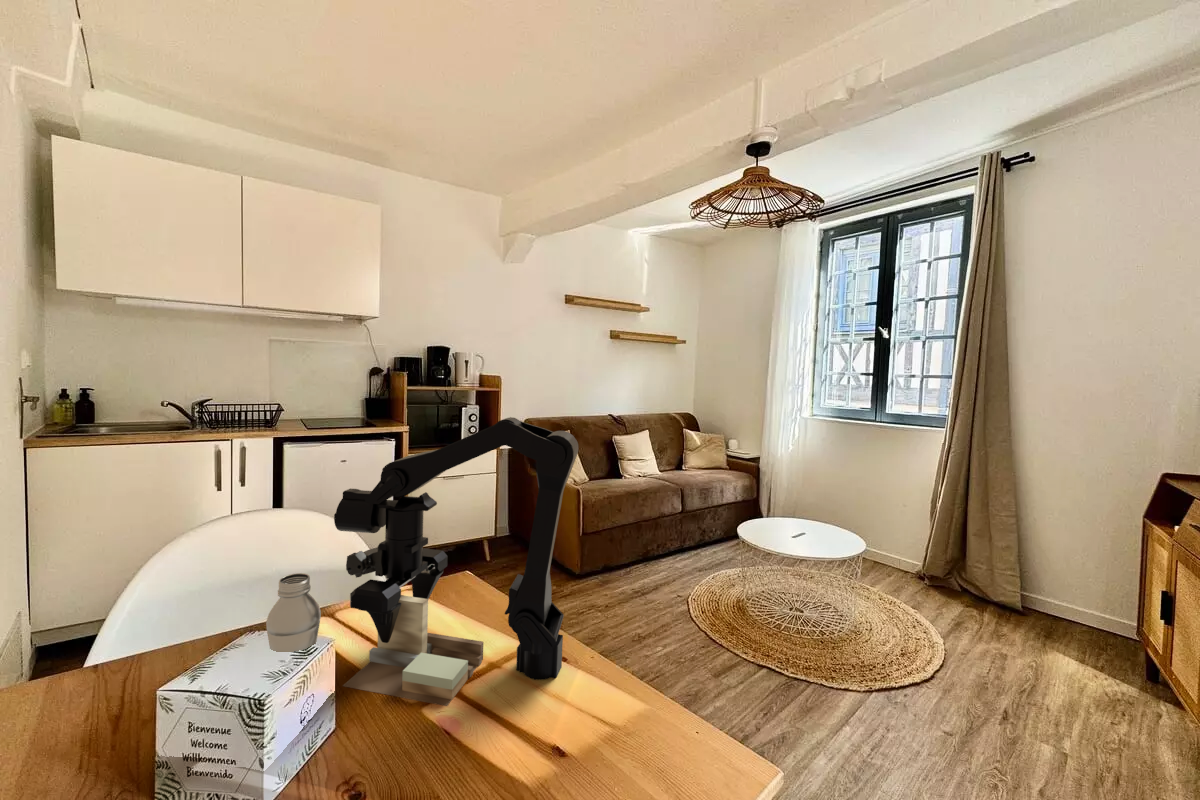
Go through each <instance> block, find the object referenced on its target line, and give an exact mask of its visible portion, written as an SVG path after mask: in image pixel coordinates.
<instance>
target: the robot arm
mask: <svg viewBox="0 0 1200 800" xmlns="http://www.w3.org/2000/svg"><path fill="white" fill-rule="evenodd" d="M578 442H579V441H577V439H576V438H575V436H574V435H573V434H571V433H570V432H568V431H566V430H556V431H552V430H550V429H547V428H544V427H541V426H536V425H534V424H530V423H527V422H524V421H522V420H520V419H518V418H516V417H511V416H509V417H506V418H503V419H501V420H498V421H496V423H495V424H493V425H490V426H488V427H486V428H483V429H482V430H479V431H477V432H475V433H473V434H470V435H468V436H465V437H463V438H462V439H459V440H456V441H454V442H452V443H450V444H448V445H445V446H443V447H440V448H438V449H433V450H428V451H422V452H420V453H419V452H418V453H414V454H410V455H407V456H405V457H404V456H403V457H402V458H399V459H396V460H394V461H391V462H389V463H387V464H385V465H384V466H383V468H382V470H381V472H380V473H381V474H380V480H379V482H378V483H377V484H376V485H375V487H373V489H372V490H361V489H359V488H348V489H346V490H344V491H342V498H341V500H339V503H338V505H337V507H336V511H335V513H334V516H333V519H334V520H333V521H334V526H335V528H336V529H337V530H338V531H339V532H349V533H365V534H376V533H377V532H379V531H380V530H381V528H384V527H385V529H384V531H385V533H384V534H385V535H384V536H385V537H384V539H385V540H383V541H381V542H380V543H379V544H378V545H377V547H373V548H370V549H367V550H365V551H363V550H359V551H358V552H353V553H350V554H349V555H347V556H346V563H345V564H346V565H345V567H346V568H345V569H346V572H347V574H348V575H350V576H355V578H360V577H362V576H363V575H367V574H371V573H375V574H374V575H375V577H383V576H384V577H386V580H378V579H377V580H376V579H369V580H367V581H365V582H364V583H362V584H361V585H358V586H357V587H355V589H353V591H352V592H350V593H349V594H350V595H349V606H350V609H354V610H355V609H356V610H358V611H364V612H367V613H368V614H369V616H370V617H371V619H372V622H373V624H374V626H375V629H376V631H377V635H378V634H379V637H380V639H381V641H382V642H384V643H388V642H389V640H390V638H391V635H392V632H393V629H394V626H395V622H396V619H397V616H398V613H399V610H400V607H401V603H399V600H400V597H401V595H402V587H403V586H405V585H406V584H408V583H409V582H411V587H412V597H417V598H424V599H428V600H429V599H430V596H431V595H432V593H433V591H434V589H435V587H436V586H437V583H438V581H439V580H440V578H441V576H442V574H443V573H444V569H446V568H447V567H448V560H449V559H448V555H447V553H446V552H445V551H444V550H440V549H432V548H425V546H426V545H429V537H426V536H424V511H425V512H428V511H429V510H431V509H433V508H434V507H435V506H437V504H438V503H437V501H436V500H435V499H434V498H432V497H431V496H430V495H429V493H428V492H424V493H422V494H420V495H419V496H410V495H409V494H411V493H413V492H415V491H417V490H419V489H421V488H422V487H424V486H426V485H427V484H428V483H430V482H432V481H433V480H434V479H436V478H438V477H439V476H440V475H442V474H444V473H445V472H446V471H448V470H450V469H453V468H454V467H457V466H459V465H462V464H465V463H467V462H469V461H471V460H474V459H476V458H477V457H480V456H482V455H484V454H488V453H490V452H491V451H494V450H497V449H499V448H501V447H504V446H507V447H509V448H511V449H512V450H514V451H517V452H518V453H520V454H522V455H523V456H524V457H527V458H528V459H529V458H530V459H531V460H533V461H536V463H535V464H536V466H535V468H536V469H535V471H536V480H537V486H538V487H537V488H538V491H537V497H536V498H537V499H536V504H535V508H534V515H533V520H532V521H533V522H532V527H531V533H530V539H529V544H528V549H527V551H528V552H527V556H526V563H525V568H524V572H523V573H524V574H523V575H522V574H520V573H517V575H516V576H515V579H514V580H513V582H512V583H511V585H510V587H509V591H508V605H507V607H506V610H505V612H504V615H508V616H507V617H508V618H507V619H508V620H507V622H508V626H509V628H511V630H512V631H513V632H514V633H515V634H516V636H517V640H518V641H519V644H518V646H517V647H516V660H515V661H516V664H515V666H516V667H515V670H516V671H517V672H519V673H522V674H524V675H525V677H527V678H528V679H531V680H537V681H544V680H548V679H551V678H552V679H557V677H558V676H559V674H560V672H561V669H562V663H563V645H564V644H563V641H564V635H563V634H560V631H561V627H562V623H563V619H564V615H565V614H564V613H563V612H562V611H561V610H560V609H559V608H558V606H557V605H555V603H554V602H553V601H552V579H551V564H552V559H553V553H554V548H555V542H556V538H557V530H558V525H559V521H560V520H559V519H560V513H561V508H562V502H563V498H564V497H563V496H564V490H565V487H566V485H567V482H568V480H569V479H570V475H571V473H572V471H573V467H574V464H575V462H576V459H577V457H578V453H579V443H578ZM408 495H409V496H408ZM393 497H394V498H397V499H398V498H399V499H398V500H396V499H391V498H393ZM423 547H424V548H423Z"/></svg>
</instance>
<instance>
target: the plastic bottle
mask: <svg viewBox="0 0 1200 800" xmlns="http://www.w3.org/2000/svg"><path fill="white" fill-rule="evenodd" d="M310 582H311V577H310V575H309V574H308V573H302V572H301V573H296V572H295V573H292V574H287V575H284V576H282V577H281V578H280V579H279V580H278V590H277V597H279V598H278V600H277V601H276V602H275V604H274V605H273V606H272V608H271V609H270V610H269V613H268V616H267V619H266V621H265V623H266V626H265V627H266V632H267V640H268V645H269V650H270V649H271V650H273V651H276V652H294V651H299V650H303V649H306V648H308V647H310V646H312V645H314V644H316V642H317V643H318V634H319V631H320V630H319V629H320V624H321V617H322V616H321V615H322V614H321V613H322V611H321V607H320V605H319V603H318V602H317V601H316V600H315V598H314V597H313V596H312V595H311V594H310V593H309V592H311V583H310Z"/></svg>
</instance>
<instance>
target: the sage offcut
mask: <svg viewBox="0 0 1200 800" xmlns="http://www.w3.org/2000/svg"><path fill="white" fill-rule="evenodd" d="M467 670H468V660H462V659H456V658H450V657H444V656H439V655H433V654H427V653H420V654H419V655H418V656H417V657H416V658H415V659H414V660H413V661H412V662H411V663H410V664H409V665H408V666H407V667H406V668H405V669H404V670H403V676H402V681H407V682H413V683H418V684H424V685H429V686H434V687H440V688H445V689H451V690H452V689H453V688H454V687H455V686H456V684H457V683H458V682H459V680H460V679H461V678H462V677H463V675H464V674H465V673H466V672H467Z"/></svg>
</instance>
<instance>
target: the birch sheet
mask: <svg viewBox="0 0 1200 800" xmlns="http://www.w3.org/2000/svg"><path fill="white" fill-rule="evenodd" d="M399 603H401V607H400V610H399V613H398V616H397V619H396V622H395V626H394V629H393V632H392V635H391V638H390V640H389V642H388V643H384V642H382V641H381V639H380V637H379V634H378V633H377V648H381V649H387V650H392V651H398V652H404V653H410V654H416V655H419V654H420V653H427V633H428V626H429V625H428V623H429V622H428V621H429V620H428V619H429V599H424V598H417V597H413V596H409V595H403V594H401V597H400V600H399Z"/></svg>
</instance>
